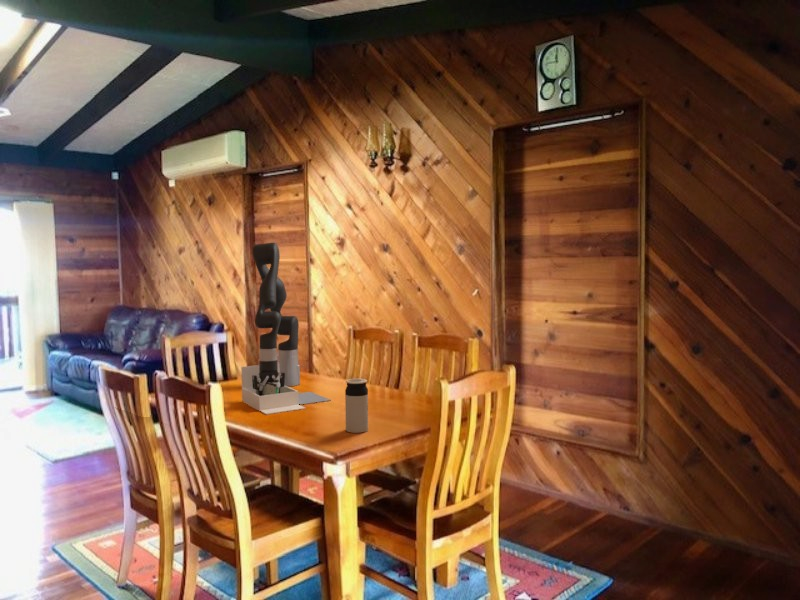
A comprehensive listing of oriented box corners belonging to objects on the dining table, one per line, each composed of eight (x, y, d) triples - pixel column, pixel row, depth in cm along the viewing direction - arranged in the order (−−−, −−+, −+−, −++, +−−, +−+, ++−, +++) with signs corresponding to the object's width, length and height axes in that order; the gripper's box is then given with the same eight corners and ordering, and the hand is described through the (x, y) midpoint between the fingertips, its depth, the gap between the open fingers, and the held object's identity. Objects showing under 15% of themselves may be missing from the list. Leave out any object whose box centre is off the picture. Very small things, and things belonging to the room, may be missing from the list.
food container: (286, 403, 272) (286, 380, 271) (277, 406, 266) (277, 382, 265) (263, 400, 277) (263, 377, 276) (254, 403, 272) (253, 380, 271)
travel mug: (344, 433, 225) (344, 382, 224) (346, 427, 233) (346, 378, 232) (367, 433, 225) (367, 382, 224) (368, 427, 233) (368, 378, 232)
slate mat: (310, 392, 293) (310, 391, 293) (330, 400, 276) (330, 399, 276) (281, 396, 285) (281, 395, 285) (300, 405, 268) (300, 404, 268)
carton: (279, 396, 285) (278, 363, 284) (305, 408, 262) (305, 372, 261) (242, 401, 275) (241, 367, 274) (266, 414, 253) (265, 376, 252)
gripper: (280, 356, 277) (281, 394, 278) (248, 359, 269) (249, 398, 270) (288, 358, 271) (288, 397, 272) (255, 361, 263) (255, 402, 264)
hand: (268, 398), depth 271 cm, fingers open, 6 cm apart
